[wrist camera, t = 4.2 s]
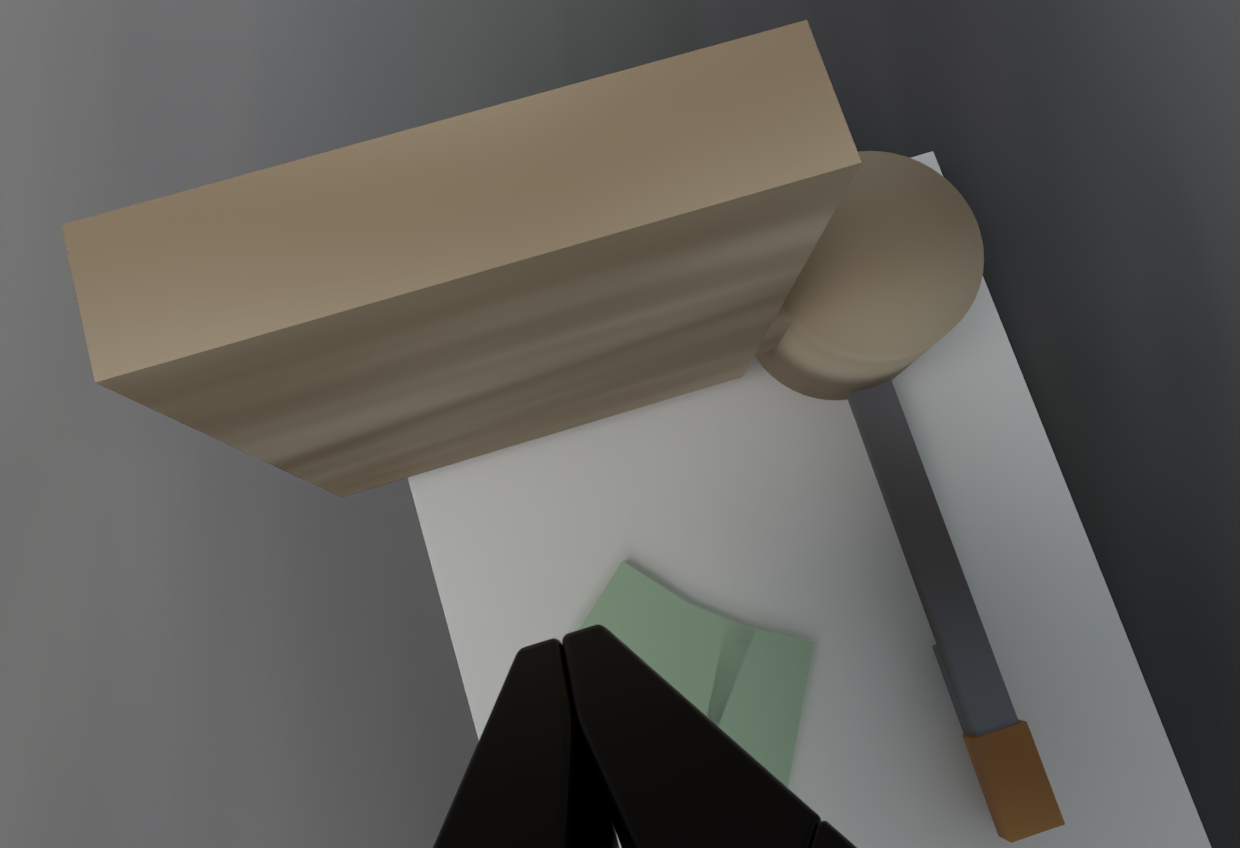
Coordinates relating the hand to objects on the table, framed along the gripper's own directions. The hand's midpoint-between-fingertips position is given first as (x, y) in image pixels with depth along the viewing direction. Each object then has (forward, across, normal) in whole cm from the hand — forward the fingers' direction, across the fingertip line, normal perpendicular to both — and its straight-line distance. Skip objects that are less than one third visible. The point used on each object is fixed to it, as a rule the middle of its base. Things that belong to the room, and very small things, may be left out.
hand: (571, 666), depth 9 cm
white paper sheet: (+6, +3, -6) cm, 9 cm away
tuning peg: (+5, +2, -5) cm, 7 cm away
